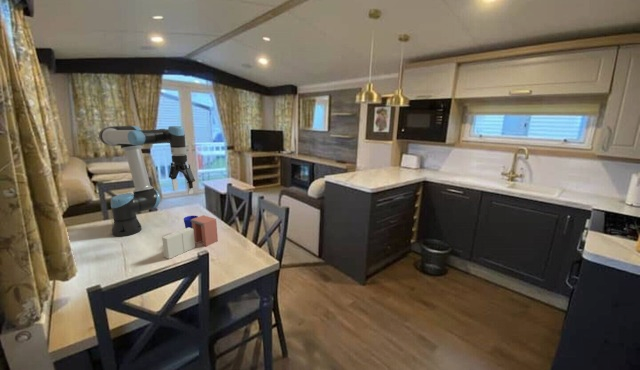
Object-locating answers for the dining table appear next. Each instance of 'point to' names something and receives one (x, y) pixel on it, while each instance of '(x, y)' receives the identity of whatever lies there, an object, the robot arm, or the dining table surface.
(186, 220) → the mug
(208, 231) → the dispenser
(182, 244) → the white double cube block
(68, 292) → the dining table surface
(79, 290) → the dining table surface
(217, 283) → the dining table surface
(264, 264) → the dining table surface
